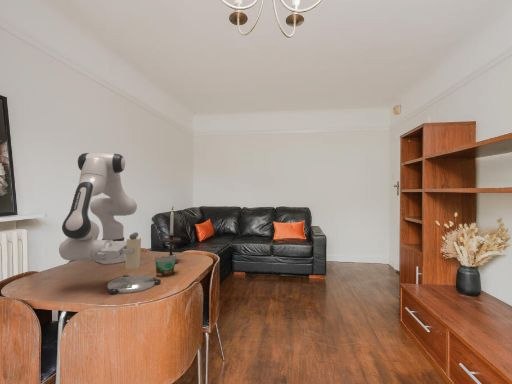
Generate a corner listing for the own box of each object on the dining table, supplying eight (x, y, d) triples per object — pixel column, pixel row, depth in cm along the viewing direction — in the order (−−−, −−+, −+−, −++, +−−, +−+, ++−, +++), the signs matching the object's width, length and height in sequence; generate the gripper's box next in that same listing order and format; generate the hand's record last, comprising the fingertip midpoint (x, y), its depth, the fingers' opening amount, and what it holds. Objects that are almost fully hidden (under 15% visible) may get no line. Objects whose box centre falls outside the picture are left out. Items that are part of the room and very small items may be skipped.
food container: (161, 279, 126) (162, 259, 127) (153, 277, 130) (154, 257, 130) (181, 273, 137) (181, 254, 137) (173, 271, 140) (173, 252, 140)
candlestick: (183, 262, 159) (185, 205, 160) (169, 266, 150) (170, 206, 150) (172, 259, 165) (173, 205, 165) (157, 263, 156) (159, 205, 156)
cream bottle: (128, 265, 120) (129, 232, 120) (140, 264, 121) (141, 232, 121) (125, 268, 114) (126, 234, 114) (137, 268, 115) (138, 234, 115)
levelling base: (116, 278, 126) (116, 273, 126) (163, 276, 131) (163, 271, 131) (99, 295, 105) (100, 289, 105) (156, 292, 110) (157, 286, 110)
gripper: (93, 247, 105) (130, 246, 108) (110, 239, 125) (140, 238, 128) (92, 262, 105) (129, 261, 108) (109, 252, 125) (140, 251, 128)
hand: (135, 249), depth 118 cm, fingers closed on cream bottle, 5 cm apart
